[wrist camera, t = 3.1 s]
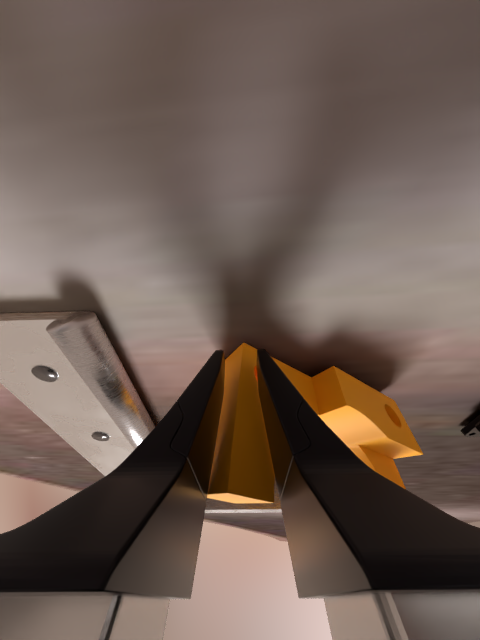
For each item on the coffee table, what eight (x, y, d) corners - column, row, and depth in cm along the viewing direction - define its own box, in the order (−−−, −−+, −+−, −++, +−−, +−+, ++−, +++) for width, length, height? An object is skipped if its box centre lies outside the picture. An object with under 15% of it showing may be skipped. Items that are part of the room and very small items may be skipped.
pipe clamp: (394, 400, 13) (468, 538, 8) (342, 417, 16) (376, 530, 11) (262, 325, 10) (260, 490, 5) (221, 362, 12) (195, 495, 7)
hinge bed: (324, 304, 10) (353, 340, 7) (281, 478, 24) (286, 512, 21) (-48, 314, 10) (-141, 352, 8) (122, 480, 24) (108, 513, 21)
